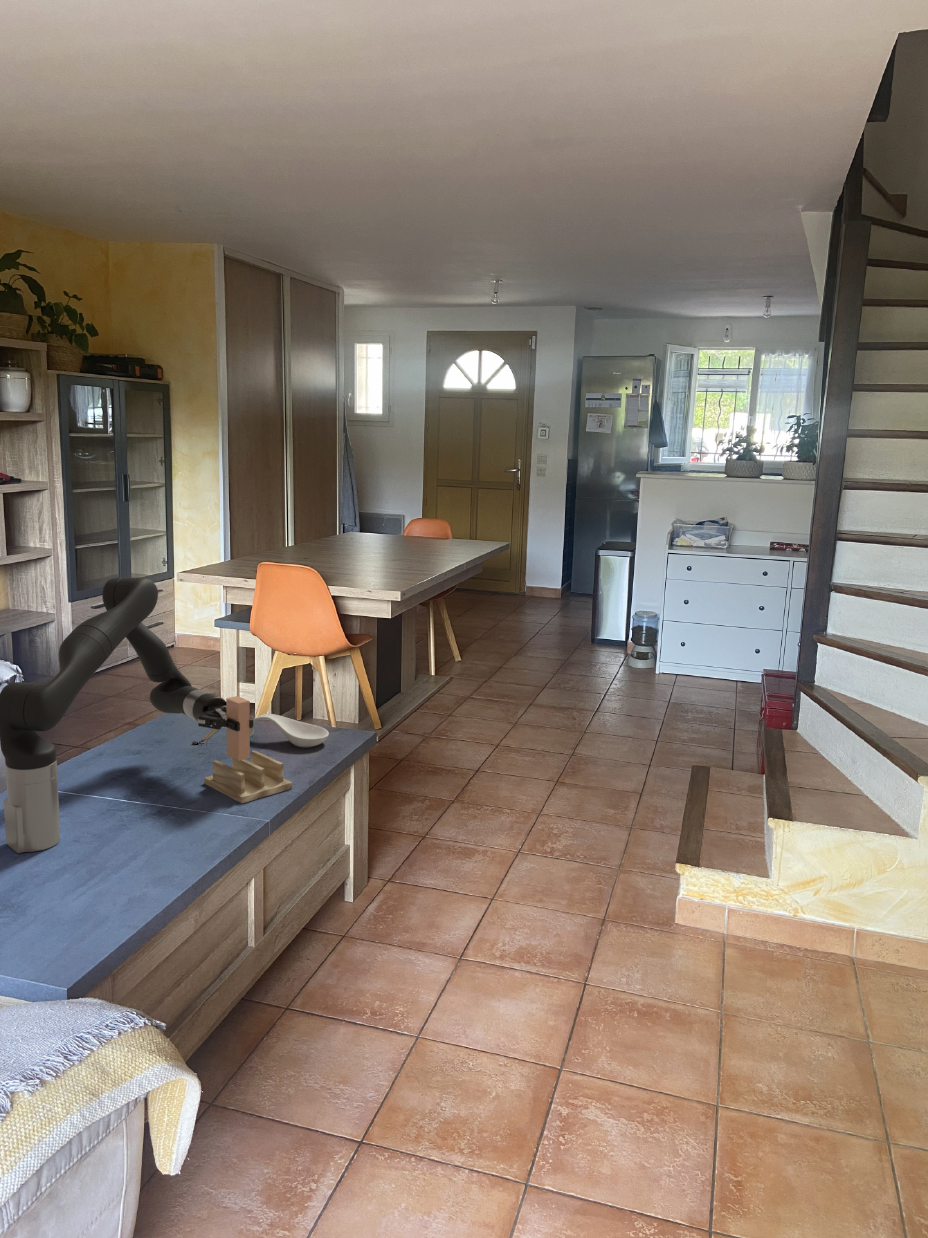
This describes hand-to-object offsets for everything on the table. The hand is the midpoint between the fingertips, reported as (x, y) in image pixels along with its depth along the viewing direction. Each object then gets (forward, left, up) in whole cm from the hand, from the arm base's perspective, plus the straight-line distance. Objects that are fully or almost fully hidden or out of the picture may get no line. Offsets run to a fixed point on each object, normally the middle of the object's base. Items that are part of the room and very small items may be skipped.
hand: (245, 725), depth 210 cm
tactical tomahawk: (+18, +41, -17) cm, 48 cm away
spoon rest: (+29, +23, -17) cm, 41 cm away
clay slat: (0, +3, -8) cm, 9 cm away
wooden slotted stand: (+3, +3, -16) cm, 17 cm away
